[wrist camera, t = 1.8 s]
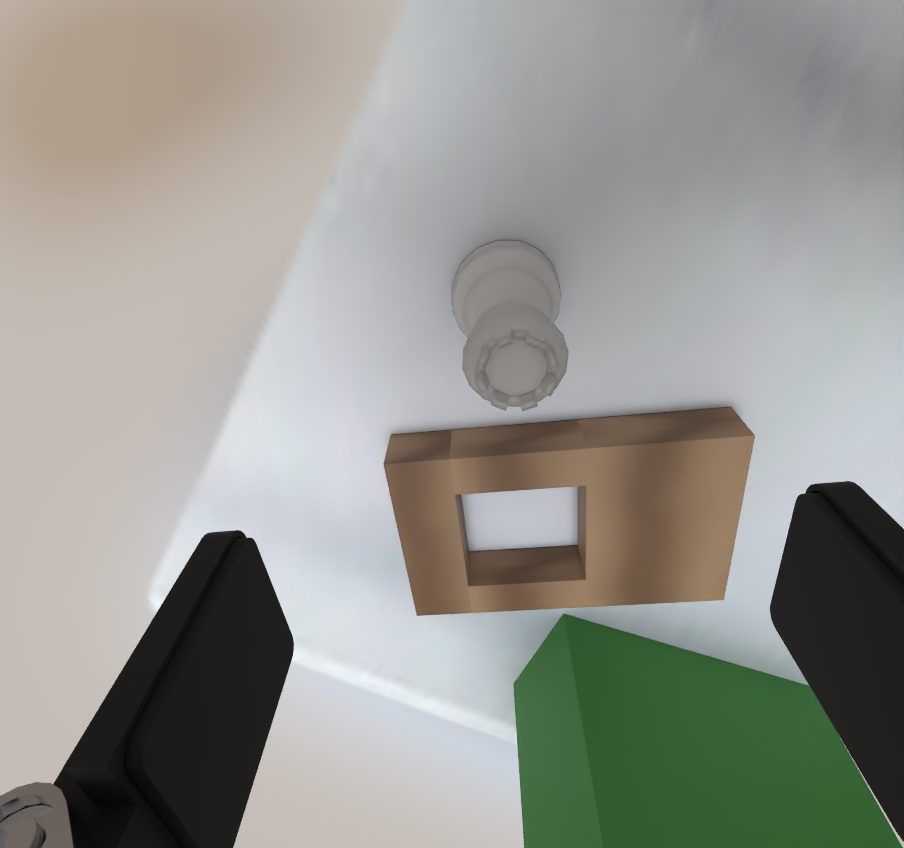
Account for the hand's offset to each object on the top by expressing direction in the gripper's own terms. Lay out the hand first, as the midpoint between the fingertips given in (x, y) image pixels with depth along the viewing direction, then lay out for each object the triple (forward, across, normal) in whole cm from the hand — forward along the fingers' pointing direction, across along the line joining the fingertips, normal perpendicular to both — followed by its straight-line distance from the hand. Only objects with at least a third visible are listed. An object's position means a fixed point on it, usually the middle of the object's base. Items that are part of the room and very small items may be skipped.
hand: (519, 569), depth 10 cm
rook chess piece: (+16, -1, 0) cm, 16 cm away
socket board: (+16, -3, +11) cm, 19 cm away
